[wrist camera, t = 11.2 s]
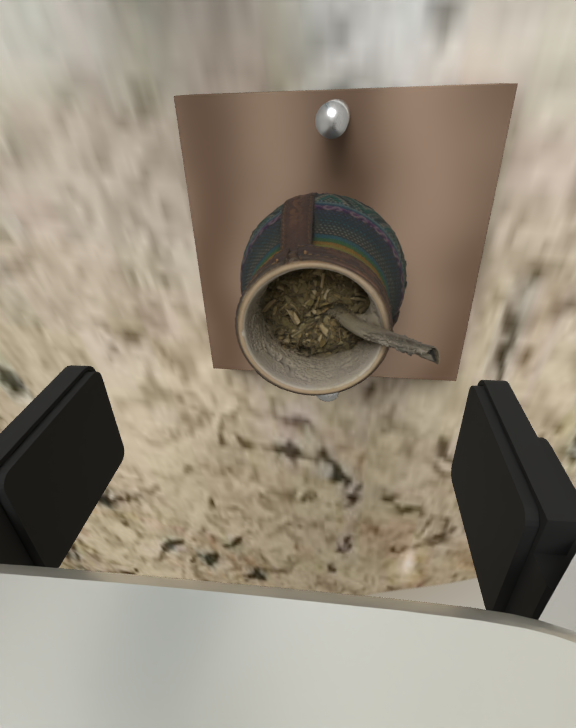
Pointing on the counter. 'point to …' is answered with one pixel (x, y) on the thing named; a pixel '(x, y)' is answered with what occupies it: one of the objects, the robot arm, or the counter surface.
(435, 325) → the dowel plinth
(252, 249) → the mate gourd
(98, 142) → the counter surface
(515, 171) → the counter surface
